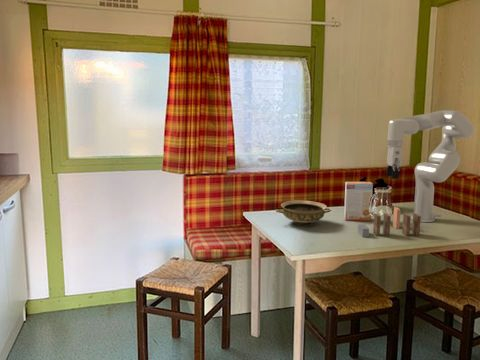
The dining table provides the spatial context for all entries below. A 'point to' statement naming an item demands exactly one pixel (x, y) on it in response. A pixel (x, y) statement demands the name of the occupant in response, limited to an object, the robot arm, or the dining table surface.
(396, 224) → the terracotta domino
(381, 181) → the coal bowl
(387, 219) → the walnut domino
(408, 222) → the walnut domino
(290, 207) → the ceramic bowl
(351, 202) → the cracker box
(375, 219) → the walnut domino
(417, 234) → the walnut domino
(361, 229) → the end block
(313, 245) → the dining table surface
